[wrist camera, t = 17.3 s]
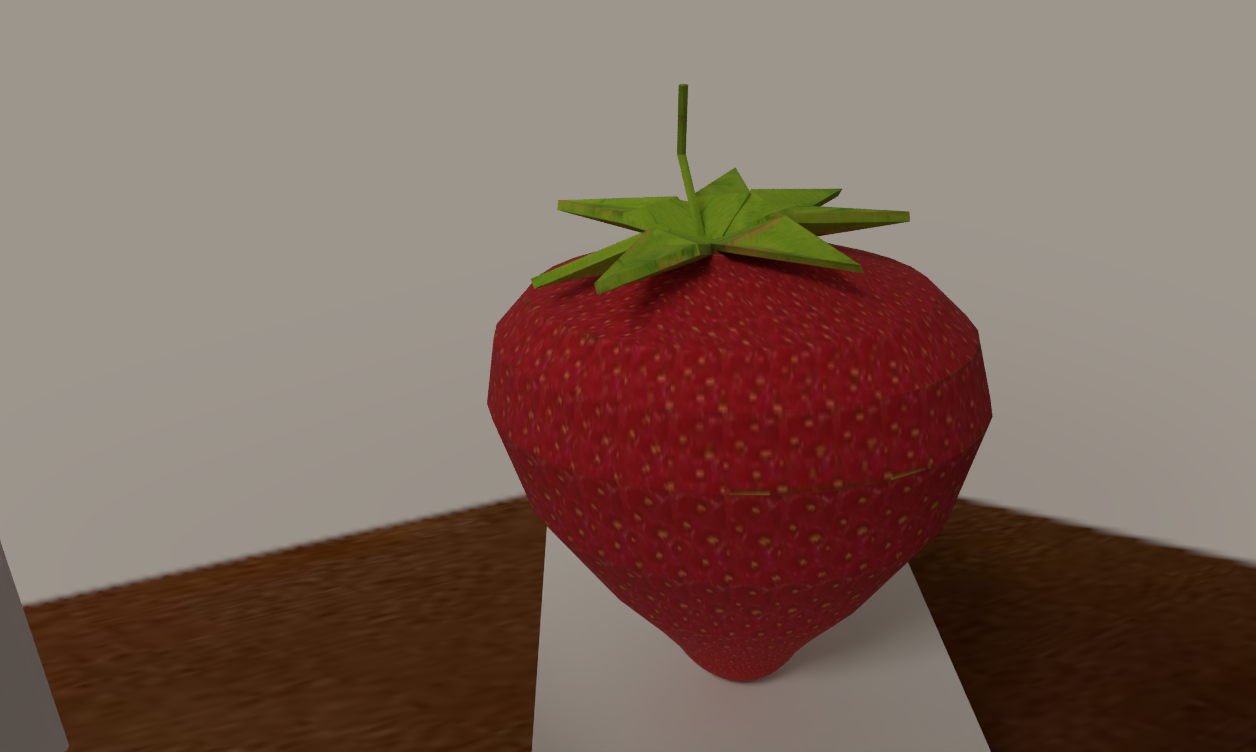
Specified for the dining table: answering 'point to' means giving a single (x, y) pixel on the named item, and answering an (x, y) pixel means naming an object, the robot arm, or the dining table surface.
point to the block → (742, 710)
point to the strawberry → (738, 413)
